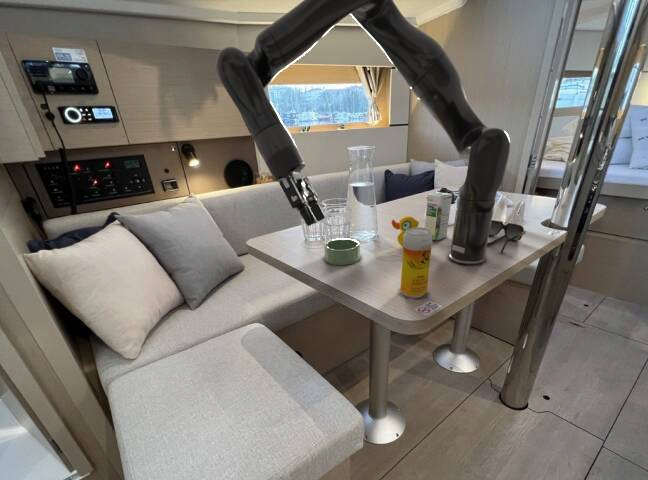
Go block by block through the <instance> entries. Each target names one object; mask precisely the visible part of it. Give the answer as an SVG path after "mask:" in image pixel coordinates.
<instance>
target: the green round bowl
mask: <svg viewBox="0 0 648 480" xmlns="http://www.w3.org/2000/svg"><path fill="white" fill-rule="evenodd" d="M323 245H324V246H323V247H324V260H325V262H326V263H328V264H329V265H334V266H347V265H351V264H355V263H357V262H358V261H359V260H360V257H361V250H360V249H361V248H360V245H361V244H360V242H359V241H358V240H357V239H351V238H336V239H330V240H328V241H326V242H325V243H324V244H323Z"/></svg>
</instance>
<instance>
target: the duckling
mask: <svg viewBox="0 0 648 480" xmlns="http://www.w3.org/2000/svg"><path fill="white" fill-rule="evenodd" d="M419 222H420V221H418V220H417V219H415V218H414V217H413V216H410V215H407V216H404V217H401V218H400V219H399V222H397V221H396V220H395V219H392V220H391V225H392V227H393V228H394V229H395V230H400V232H399V233H398V234H397V237H396V239H397V242H398V244H399V245H400V246H401V247H402V248H403V238H404V234H405V232H406V230H407V229H409V228H414V227H419V225H420V223H419Z"/></svg>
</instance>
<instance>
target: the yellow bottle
mask: <svg viewBox="0 0 648 480" xmlns="http://www.w3.org/2000/svg"><path fill="white" fill-rule="evenodd" d="M432 238H433V236H432V233H431V230H430V229H427V228H425V227H421V226H420V227H419V226H418V227H414V228H409V229H407V230H406V232H405V234H404V238H403V247H402V256H401V271H400V272H401V274H400V292H401V293H402V295H404V296H405V297H407V298H414V299H418V298H422V297H423V296H424V295H425V294H426V293H427V292H428V284H429V275H430V266H431V265H430V264H431V255H432V245H433V239H432Z"/></svg>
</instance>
